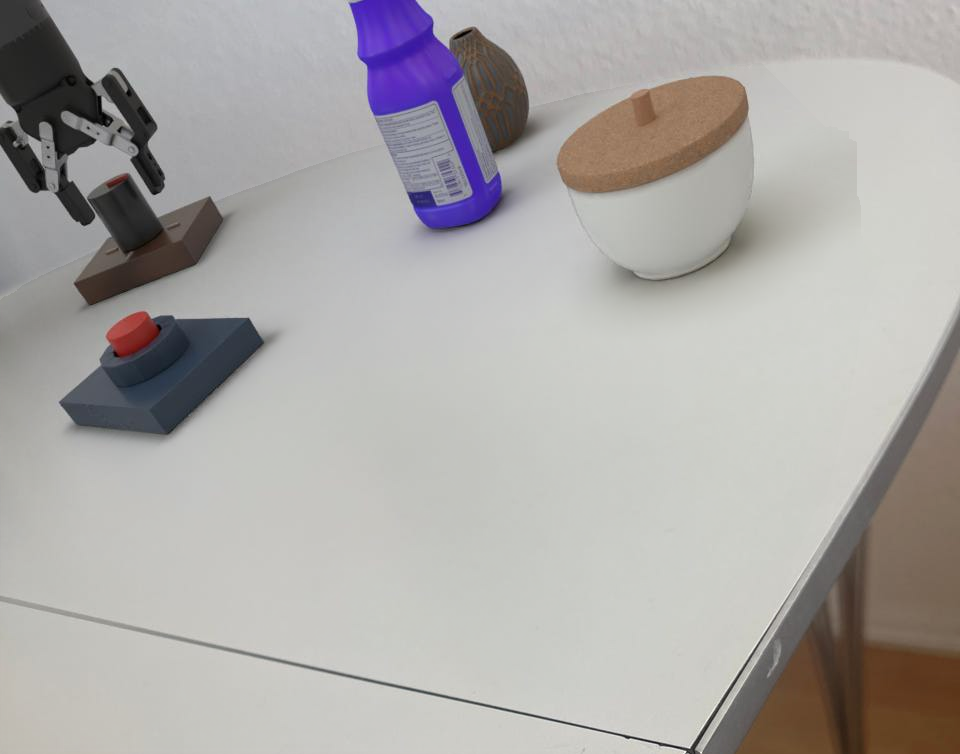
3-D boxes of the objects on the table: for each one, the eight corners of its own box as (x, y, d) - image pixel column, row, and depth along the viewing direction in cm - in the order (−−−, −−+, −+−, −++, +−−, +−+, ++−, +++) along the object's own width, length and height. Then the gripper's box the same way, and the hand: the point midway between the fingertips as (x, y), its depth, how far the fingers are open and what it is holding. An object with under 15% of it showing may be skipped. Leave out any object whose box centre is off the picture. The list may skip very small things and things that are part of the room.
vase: (497, 163, 82) (456, 52, 76) (449, 160, 87) (408, 57, 81) (554, 120, 84) (519, 8, 78) (505, 120, 89) (468, 15, 83)
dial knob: (114, 257, 98) (77, 201, 94) (130, 235, 101) (95, 181, 98) (154, 241, 97) (117, 184, 93) (168, 220, 100) (134, 164, 96)
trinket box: (588, 321, 58) (535, 167, 52) (602, 235, 65) (556, 90, 59) (775, 270, 54) (741, 96, 48) (768, 184, 61) (738, 23, 55)
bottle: (520, 187, 77) (429, -65, 65) (486, 227, 74) (385, -29, 62) (446, 200, 81) (349, -35, 69) (412, 238, 78) (304, 0, 67)
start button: (111, 359, 75) (96, 339, 74) (143, 330, 76) (130, 311, 75) (137, 359, 73) (122, 339, 72) (169, 330, 74) (156, 310, 73)
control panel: (88, 305, 99) (71, 281, 98) (121, 259, 106) (106, 236, 104) (196, 263, 95) (180, 238, 93) (223, 218, 102) (209, 194, 100)
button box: (75, 424, 79) (42, 383, 76) (168, 341, 83) (140, 300, 81) (167, 434, 70) (133, 388, 68) (264, 342, 75) (236, 295, 73)
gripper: (89, -14, 87) (194, 165, 97) (-33, 51, 91) (80, 215, 102) (57, 11, 82) (172, 197, 92) (-70, 79, 86) (53, 249, 97)
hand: (124, 206), depth 97 cm, fingers open, 8 cm apart
